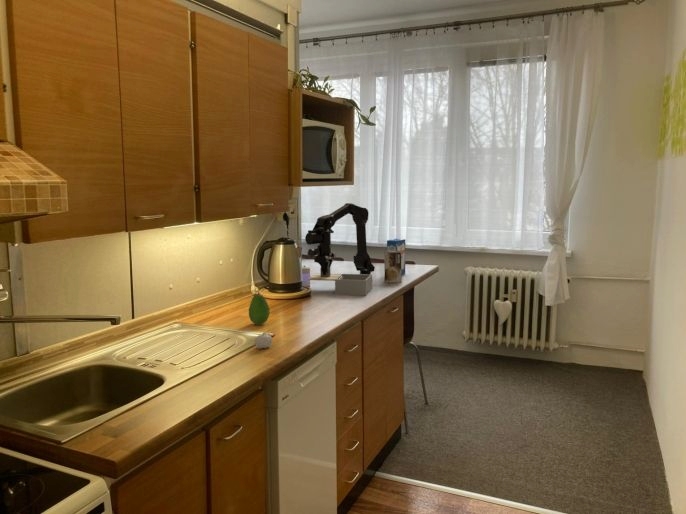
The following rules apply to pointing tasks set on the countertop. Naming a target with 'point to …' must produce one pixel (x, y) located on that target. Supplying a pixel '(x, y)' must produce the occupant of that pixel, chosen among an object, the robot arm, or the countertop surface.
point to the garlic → (263, 341)
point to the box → (353, 284)
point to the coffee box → (392, 266)
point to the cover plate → (332, 278)
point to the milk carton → (398, 246)
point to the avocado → (258, 310)
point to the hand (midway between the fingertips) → (325, 274)
